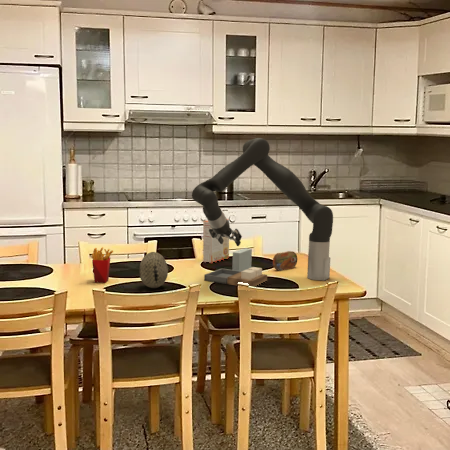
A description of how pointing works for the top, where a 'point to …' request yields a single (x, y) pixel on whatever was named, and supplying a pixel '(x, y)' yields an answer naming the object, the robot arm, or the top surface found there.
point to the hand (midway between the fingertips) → (230, 243)
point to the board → (253, 282)
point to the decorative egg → (153, 270)
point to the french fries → (101, 265)
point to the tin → (285, 260)
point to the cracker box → (213, 246)
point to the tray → (220, 275)
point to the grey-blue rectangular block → (242, 259)
